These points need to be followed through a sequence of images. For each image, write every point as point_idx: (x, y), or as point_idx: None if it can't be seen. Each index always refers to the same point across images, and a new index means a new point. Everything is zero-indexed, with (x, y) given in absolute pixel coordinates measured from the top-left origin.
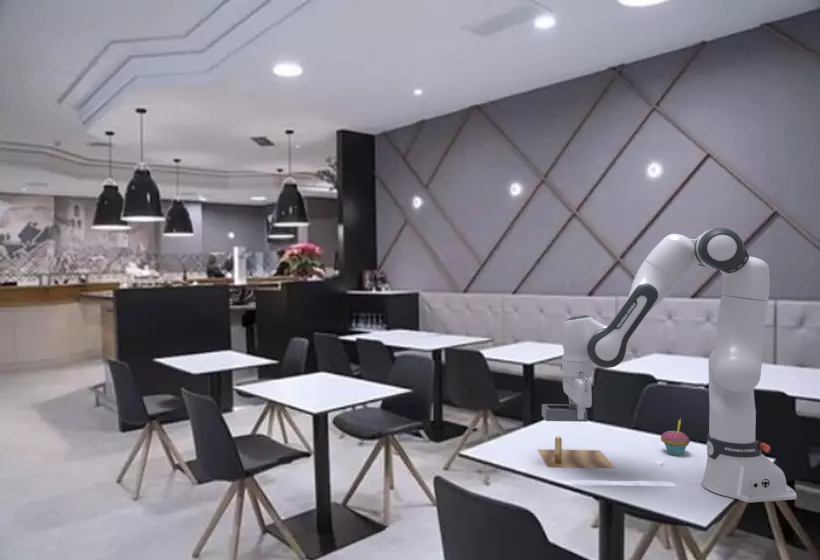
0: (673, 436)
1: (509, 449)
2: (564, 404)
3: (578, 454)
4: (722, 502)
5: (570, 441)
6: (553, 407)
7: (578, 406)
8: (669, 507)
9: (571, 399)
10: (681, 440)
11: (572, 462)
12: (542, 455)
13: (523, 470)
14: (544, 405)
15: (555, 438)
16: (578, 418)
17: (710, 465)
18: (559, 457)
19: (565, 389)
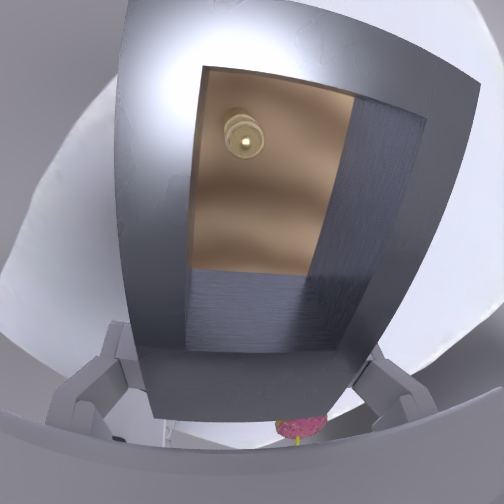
0: (290, 429)
1: (434, 36)
2: (379, 333)
3: (313, 227)
4: (65, 373)
5: (439, 249)
6: (382, 197)
7: (49, 410)
8: (12, 302)
9: (392, 405)
10: (278, 430)
11: (233, 177)
12: (328, 90)
13: None
14: (420, 71)
15: (246, 123)
16: (111, 324)
17: (108, 421)
18: (223, 125)
19: (489, 427)
